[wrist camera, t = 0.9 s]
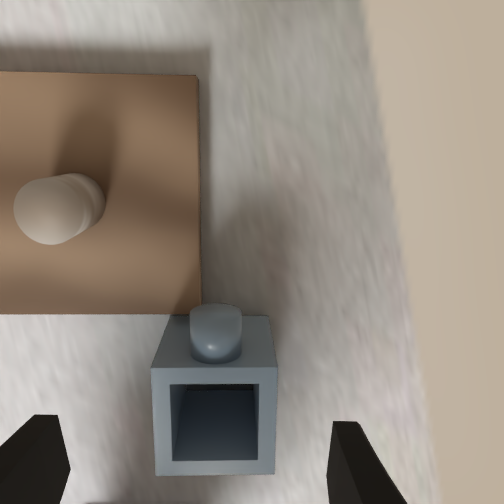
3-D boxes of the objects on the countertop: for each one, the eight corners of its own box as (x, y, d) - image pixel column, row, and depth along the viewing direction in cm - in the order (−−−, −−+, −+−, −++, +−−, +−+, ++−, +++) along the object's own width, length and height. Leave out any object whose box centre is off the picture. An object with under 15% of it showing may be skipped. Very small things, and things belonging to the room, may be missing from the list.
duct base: (201, 304, 25) (193, 343, 20) (-14, 304, 24) (-76, 344, 20) (198, 79, 22) (188, 61, 17) (-46, 74, 21) (-129, 54, 17)
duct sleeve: (265, 401, 26) (274, 474, 21) (173, 402, 26) (155, 476, 20) (268, 282, 25) (279, 325, 19) (169, 282, 24) (148, 325, 19)
